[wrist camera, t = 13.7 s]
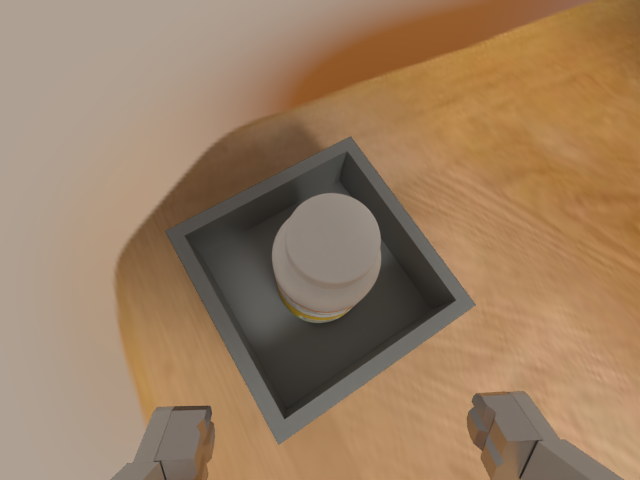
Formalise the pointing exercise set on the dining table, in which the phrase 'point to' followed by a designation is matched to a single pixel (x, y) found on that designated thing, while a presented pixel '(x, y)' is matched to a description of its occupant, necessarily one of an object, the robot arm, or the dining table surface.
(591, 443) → the dining table surface
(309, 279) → the supplement bottle
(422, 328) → the box
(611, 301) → the dining table surface
